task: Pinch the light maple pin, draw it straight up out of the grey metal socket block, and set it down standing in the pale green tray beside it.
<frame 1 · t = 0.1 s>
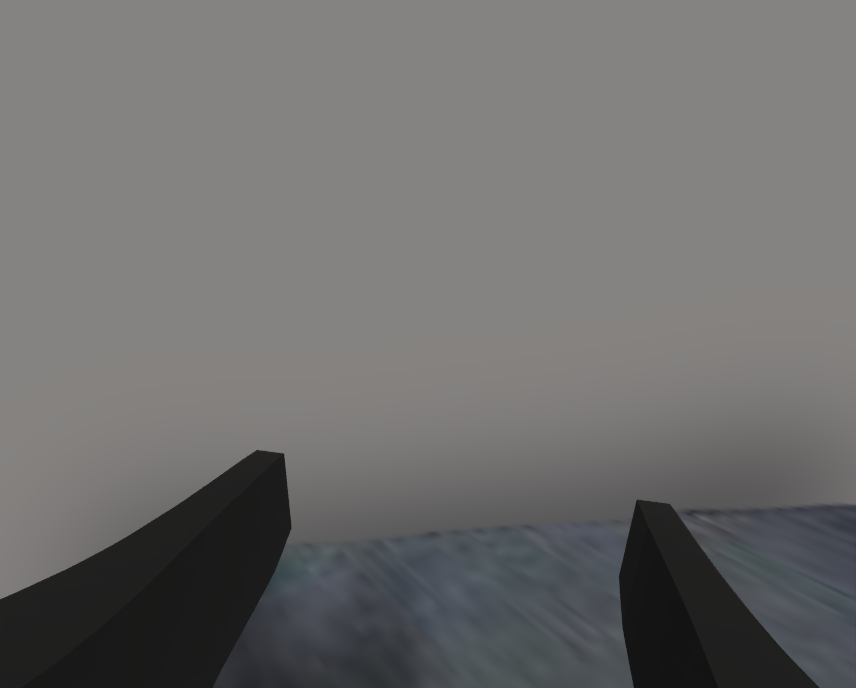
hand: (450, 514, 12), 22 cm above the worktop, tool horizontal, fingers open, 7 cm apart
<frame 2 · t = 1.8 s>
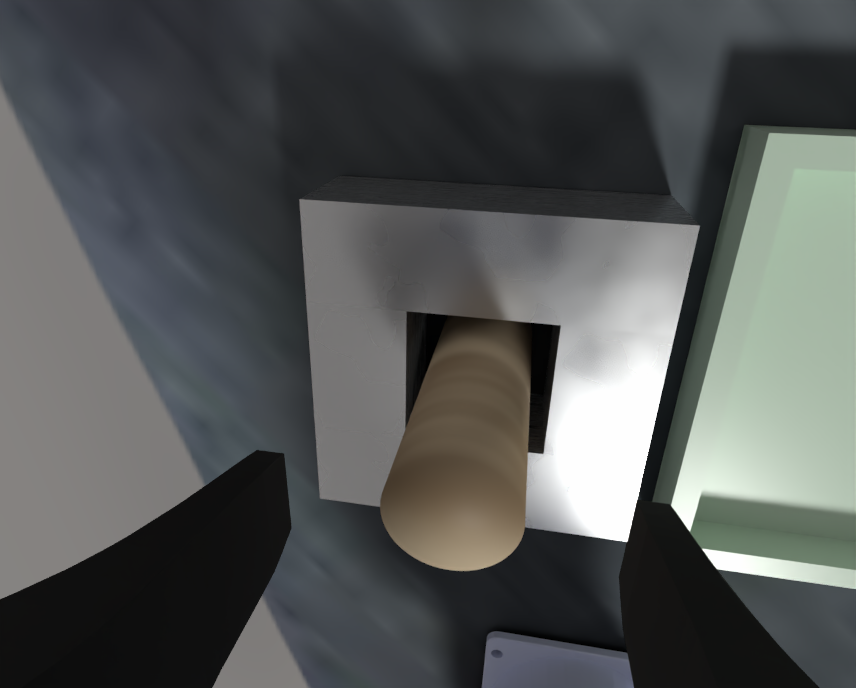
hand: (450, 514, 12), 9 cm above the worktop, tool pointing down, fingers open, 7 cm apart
pin: (473, 403, 16), in the socket block
socket block: (487, 334, 20), on the worktop
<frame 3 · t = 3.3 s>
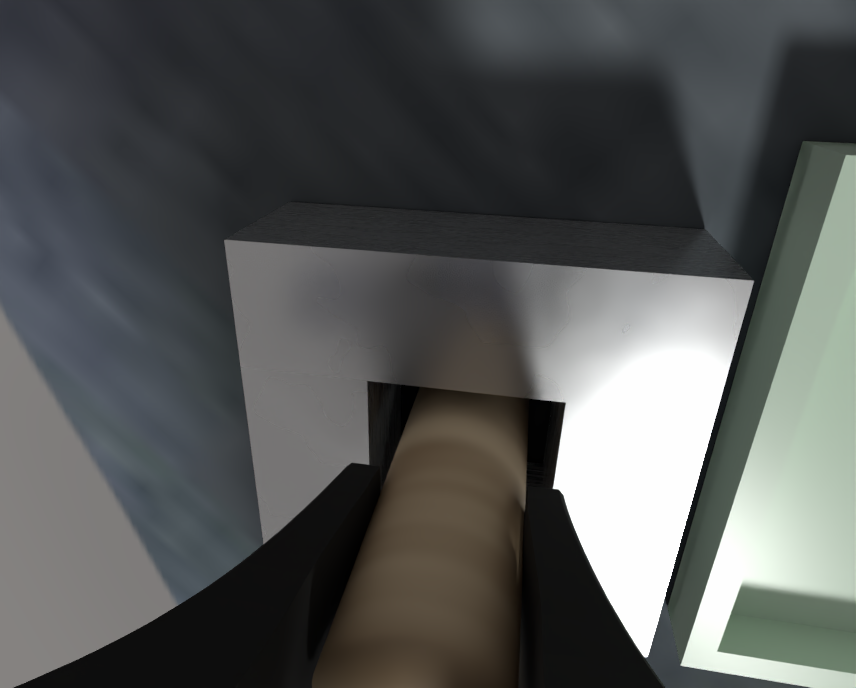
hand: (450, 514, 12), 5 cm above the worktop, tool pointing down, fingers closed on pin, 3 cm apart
pin: (453, 500, 13), in the socket block, touching gripper
socket block: (474, 393, 16), on the worktop
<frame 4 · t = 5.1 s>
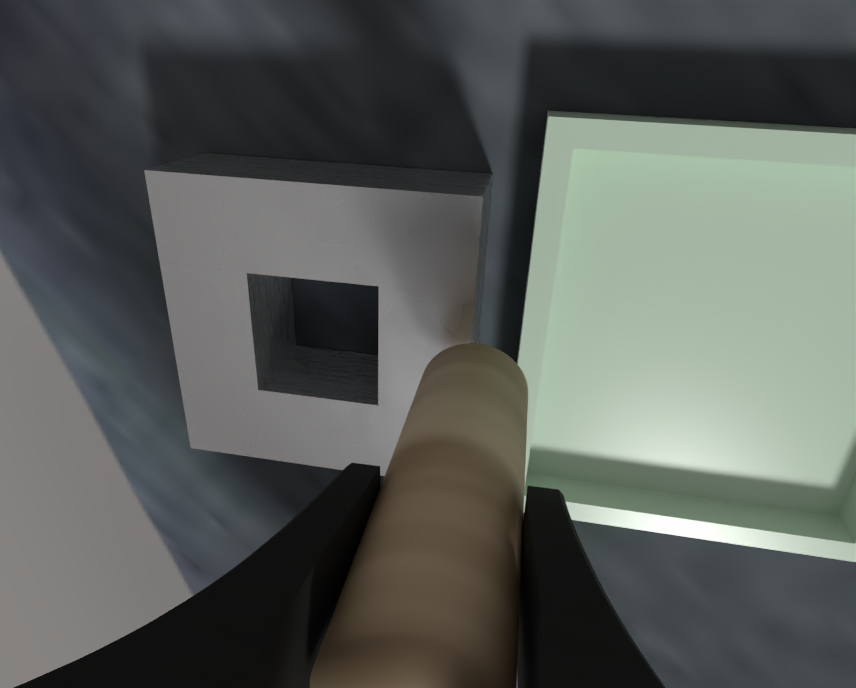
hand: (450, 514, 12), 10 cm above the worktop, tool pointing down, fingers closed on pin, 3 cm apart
pin: (451, 499, 12), point 10 cm above the worktop, touching gripper
tray: (712, 340, 20), on the worktop
socket block: (346, 301, 22), on the worktop
when the fingers open (6 cm above the worktop, at t = 7.0 s): pin stays where it is, resting on tray.
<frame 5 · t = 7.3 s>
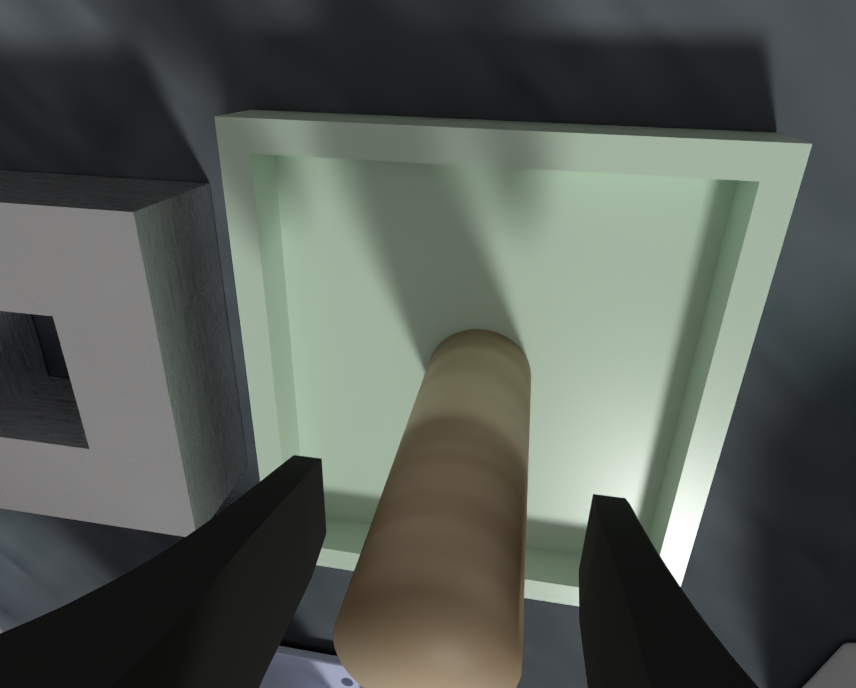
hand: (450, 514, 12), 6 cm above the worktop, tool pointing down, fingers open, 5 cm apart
pin: (460, 473, 13), in the tray, point 5 cm above the worktop
tray: (480, 368, 18), on the worktop
socket block: (89, 327, 20), on the worktop
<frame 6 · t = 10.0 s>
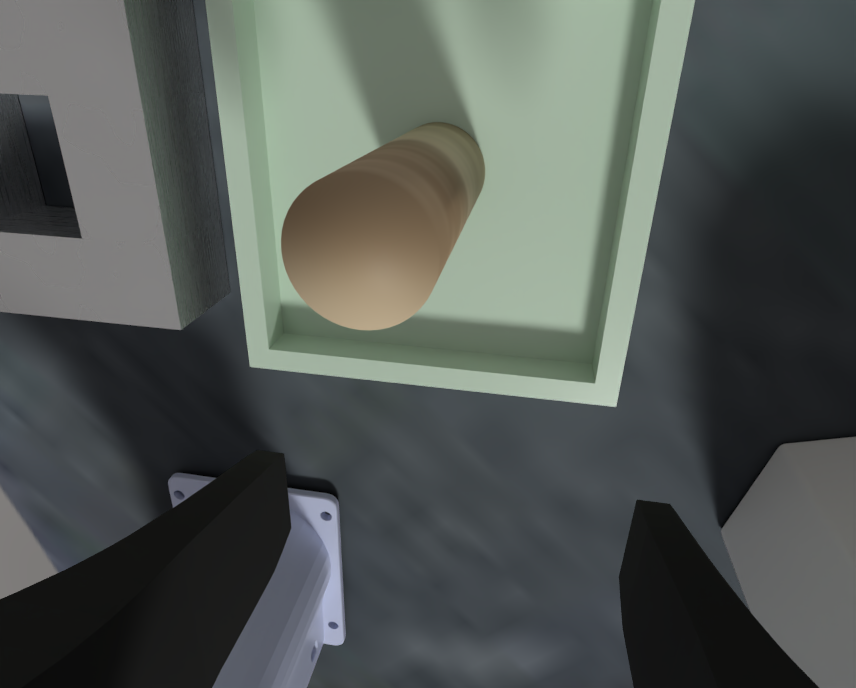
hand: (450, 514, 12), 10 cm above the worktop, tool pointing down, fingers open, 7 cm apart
jar: (844, 515, 23), on the worktop
pin: (409, 202, 15), in the tray, point 5 cm above the worktop
tray: (440, 171, 19), on the worktop
socket block: (82, 150, 21), on the worktop
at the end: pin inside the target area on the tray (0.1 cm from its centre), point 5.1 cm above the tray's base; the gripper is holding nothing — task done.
